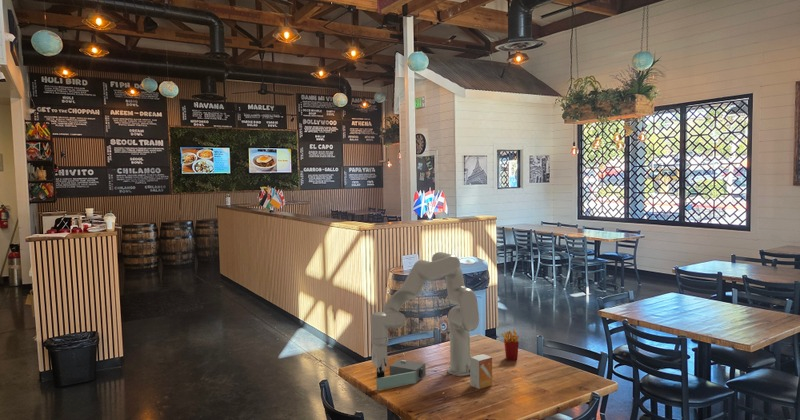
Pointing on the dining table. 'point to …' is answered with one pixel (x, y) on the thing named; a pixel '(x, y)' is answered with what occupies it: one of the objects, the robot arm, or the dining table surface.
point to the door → (396, 380)
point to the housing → (408, 368)
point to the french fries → (511, 346)
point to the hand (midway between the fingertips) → (380, 380)
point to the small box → (481, 371)
